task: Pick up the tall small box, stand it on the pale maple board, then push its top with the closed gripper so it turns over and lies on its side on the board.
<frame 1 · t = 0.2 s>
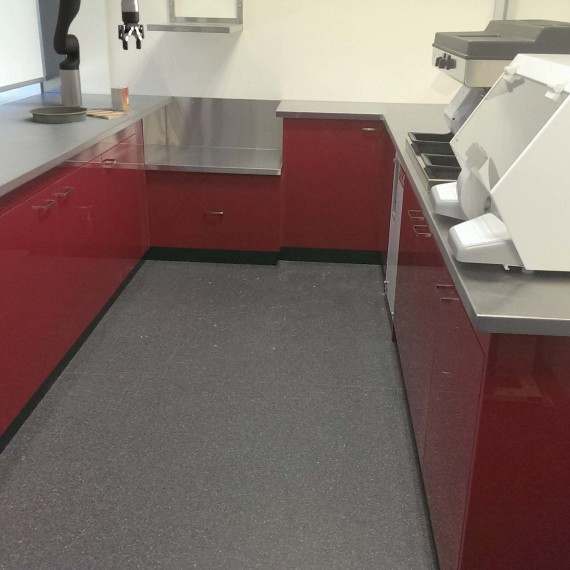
hand: (132, 49, 303), 28 cm above the worktop, fingers open, 8 cm apart
maple board: (104, 115, 309), on the worktop
cake pan: (60, 120, 295), on the worktop
small box: (121, 110, 326), on the worktop
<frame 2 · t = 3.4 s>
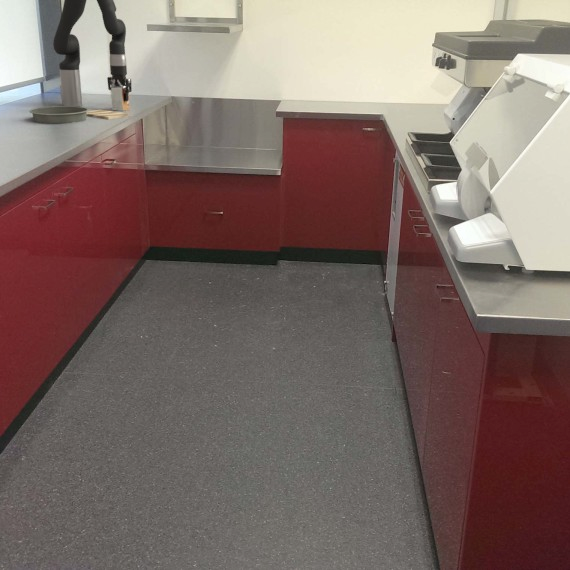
hand: (120, 100, 324), 4 cm above the worktop, fingers closed on small box, 7 cm apart
small box: (121, 110, 326), on the worktop, touching gripper
everything else where it was.
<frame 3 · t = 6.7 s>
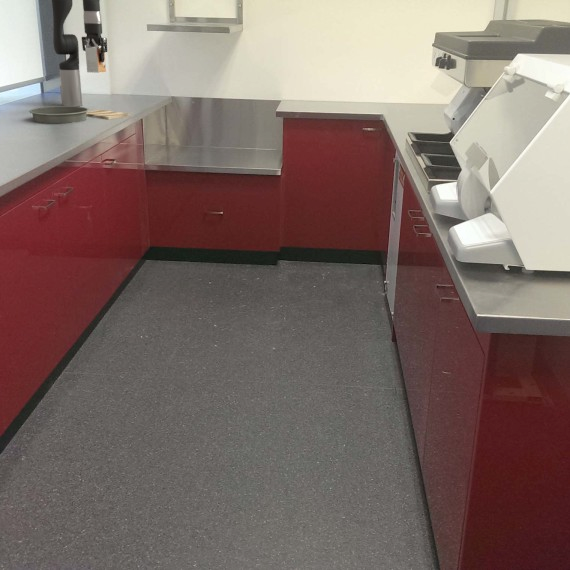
hand: (95, 61, 304), 23 cm above the worktop, fingers closed on small box, 7 cm apart
small box: (96, 72, 306), point 18 cm above the worktop, touching gripper
everything else where it was.
when the fingers open (7 cm above the worktop, at t = 10.5 s): small box drops 1 cm, resting on maple board.
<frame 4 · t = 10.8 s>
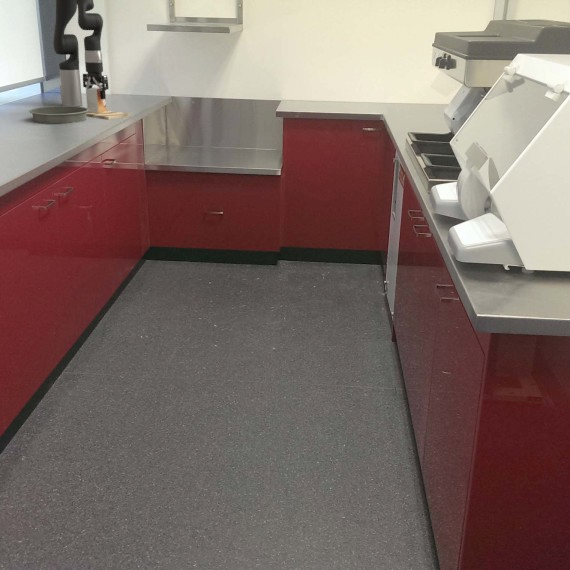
hand: (96, 98, 309), 7 cm above the worktop, fingers open, 8 cm apart
small box: (97, 112, 311), point 1 cm above the worktop, touching maple board
everything else where it was.
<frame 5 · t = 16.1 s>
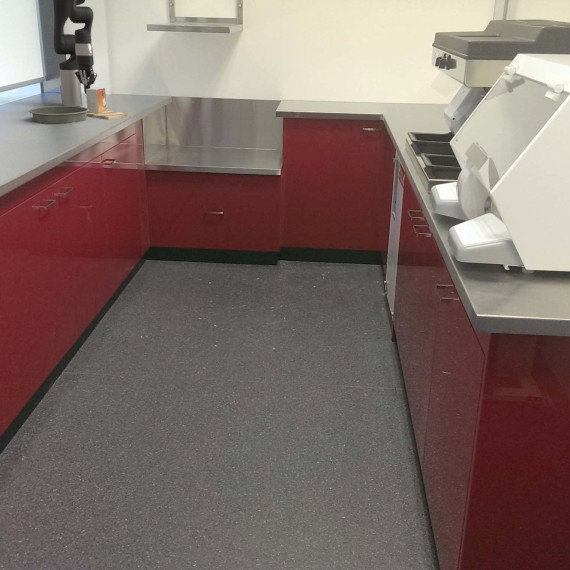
hand: (87, 93, 311), 9 cm above the worktop, fingers closed
small box: (97, 112, 311), point 1 cm above the worktop, touching gripper, maple board
everything else where it was.
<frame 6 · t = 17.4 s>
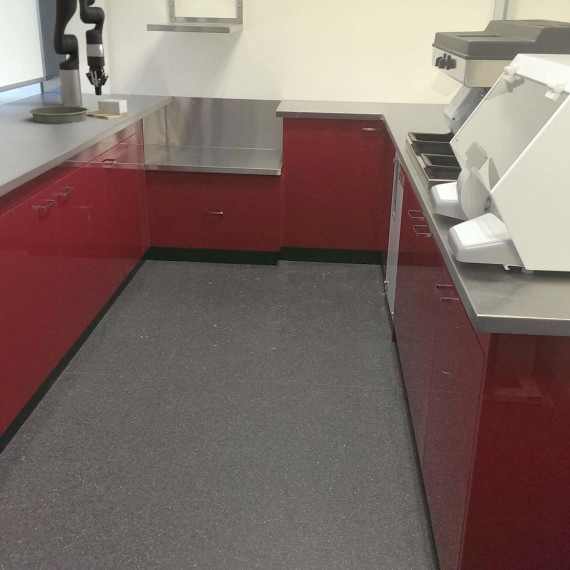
hand: (98, 95, 307), 9 cm above the worktop, fingers closed
small box: (101, 106, 310), point 4 cm above the worktop, touching maple board
everything else where it was.
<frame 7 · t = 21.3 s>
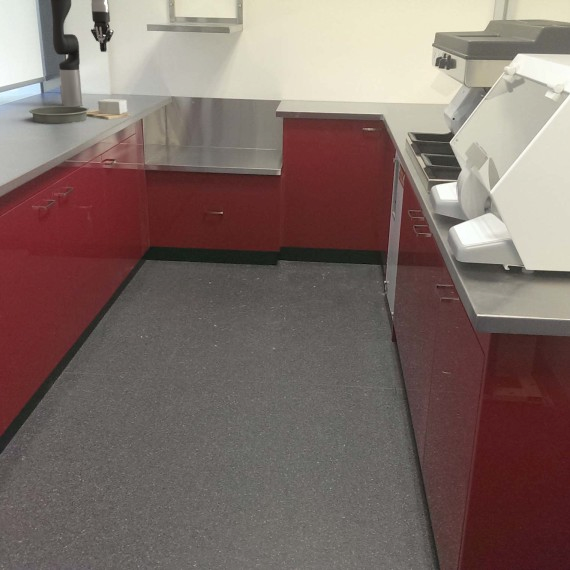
hand: (103, 51, 307), 27 cm above the worktop, fingers closed
nothing on the worktop moved.
at the end: small box tilted 90°; small box touching maple board; small box inside the target area (2.2 cm from its centre), point 3.8 cm above the worktop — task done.
